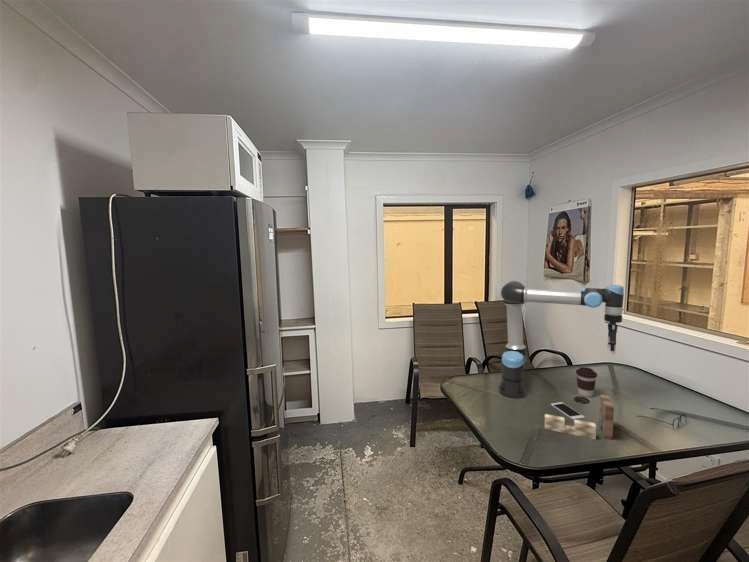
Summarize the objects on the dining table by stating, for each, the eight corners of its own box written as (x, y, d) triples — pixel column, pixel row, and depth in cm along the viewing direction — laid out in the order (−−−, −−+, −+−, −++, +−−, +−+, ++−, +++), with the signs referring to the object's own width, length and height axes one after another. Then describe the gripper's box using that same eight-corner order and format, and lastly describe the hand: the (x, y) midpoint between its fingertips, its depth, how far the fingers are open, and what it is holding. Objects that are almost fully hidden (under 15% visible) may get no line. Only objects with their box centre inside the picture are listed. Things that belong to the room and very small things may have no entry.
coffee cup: (589, 390, 184) (590, 366, 182) (599, 398, 174) (601, 373, 173) (571, 390, 185) (572, 366, 183) (581, 398, 175) (582, 372, 174)
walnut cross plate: (612, 439, 139) (614, 407, 137) (604, 438, 140) (605, 406, 138) (606, 425, 149) (608, 395, 148) (598, 424, 151) (600, 394, 149)
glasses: (673, 431, 144) (673, 421, 144) (635, 420, 157) (634, 410, 157) (687, 422, 150) (686, 412, 150) (648, 412, 163) (648, 402, 163)
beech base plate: (544, 428, 148) (545, 417, 148) (544, 425, 151) (544, 413, 150) (595, 439, 139) (596, 426, 139) (594, 435, 142) (595, 423, 141)
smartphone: (572, 420, 155) (572, 418, 155) (550, 405, 170) (550, 403, 170) (585, 418, 157) (585, 416, 156) (561, 403, 172) (561, 401, 172)
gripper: (624, 319, 154) (621, 361, 156) (620, 310, 174) (618, 347, 177) (605, 318, 158) (603, 358, 161) (603, 309, 178) (601, 344, 181)
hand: (611, 352), depth 169 cm, fingers open, 13 cm apart
